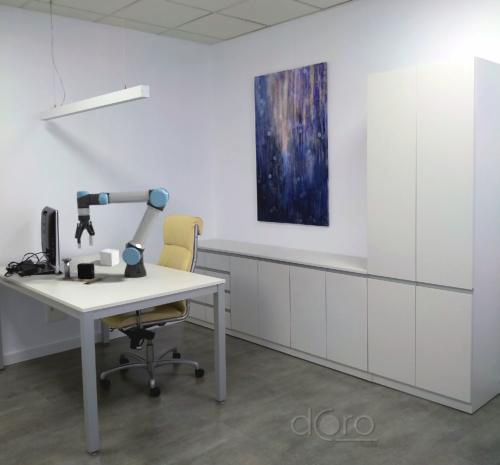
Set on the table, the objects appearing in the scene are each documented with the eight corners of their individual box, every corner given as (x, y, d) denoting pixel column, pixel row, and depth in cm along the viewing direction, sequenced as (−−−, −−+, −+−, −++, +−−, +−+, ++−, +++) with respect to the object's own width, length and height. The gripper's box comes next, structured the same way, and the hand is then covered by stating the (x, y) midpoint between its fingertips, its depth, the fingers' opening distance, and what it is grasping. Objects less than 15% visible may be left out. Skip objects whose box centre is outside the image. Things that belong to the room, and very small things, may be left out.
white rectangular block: (117, 260, 440) (116, 247, 438) (121, 265, 413) (121, 252, 411) (98, 261, 435) (98, 248, 433) (102, 267, 408) (101, 253, 406)
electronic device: (91, 279, 352) (91, 264, 351) (77, 279, 354) (77, 264, 353) (94, 278, 356) (94, 263, 355) (81, 277, 358) (80, 263, 357)
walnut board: (103, 279, 360) (102, 277, 360) (90, 284, 346) (90, 281, 346) (68, 278, 368) (67, 275, 367) (54, 282, 353) (54, 279, 353)
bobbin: (74, 277, 361) (73, 258, 359) (68, 279, 355) (67, 259, 354) (66, 277, 363) (65, 258, 361) (61, 279, 357) (59, 259, 355)
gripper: (89, 213, 364) (91, 244, 367) (67, 216, 340) (69, 249, 343) (99, 213, 362) (100, 244, 365) (78, 216, 338) (80, 249, 341)
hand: (85, 247), depth 354 cm, fingers open, 13 cm apart
